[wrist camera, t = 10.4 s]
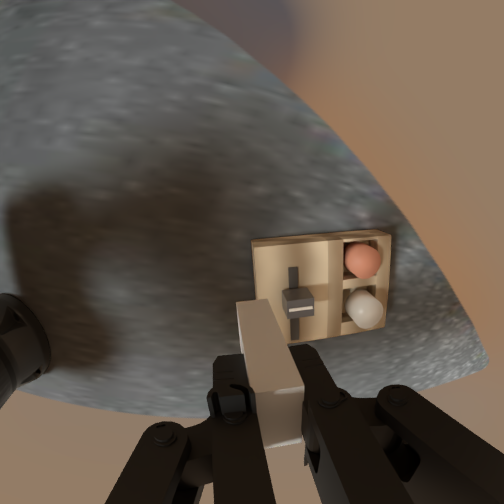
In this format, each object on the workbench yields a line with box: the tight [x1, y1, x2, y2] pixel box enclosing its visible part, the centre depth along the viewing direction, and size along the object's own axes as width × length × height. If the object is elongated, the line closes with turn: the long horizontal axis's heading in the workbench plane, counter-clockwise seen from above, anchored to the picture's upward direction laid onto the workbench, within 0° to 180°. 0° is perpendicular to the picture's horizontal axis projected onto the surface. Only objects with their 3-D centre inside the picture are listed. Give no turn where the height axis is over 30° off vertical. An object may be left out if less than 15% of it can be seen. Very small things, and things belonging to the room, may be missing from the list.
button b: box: [345, 289, 383, 329], centre depth 32 cm, size 4×4×3 cm
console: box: [251, 229, 391, 344], centre depth 35 cm, size 16×12×4 cm
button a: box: [343, 241, 381, 279], centre depth 32 cm, size 4×4×3 cm
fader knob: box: [282, 287, 314, 319], centre depth 31 cm, size 3×2×3 cm
